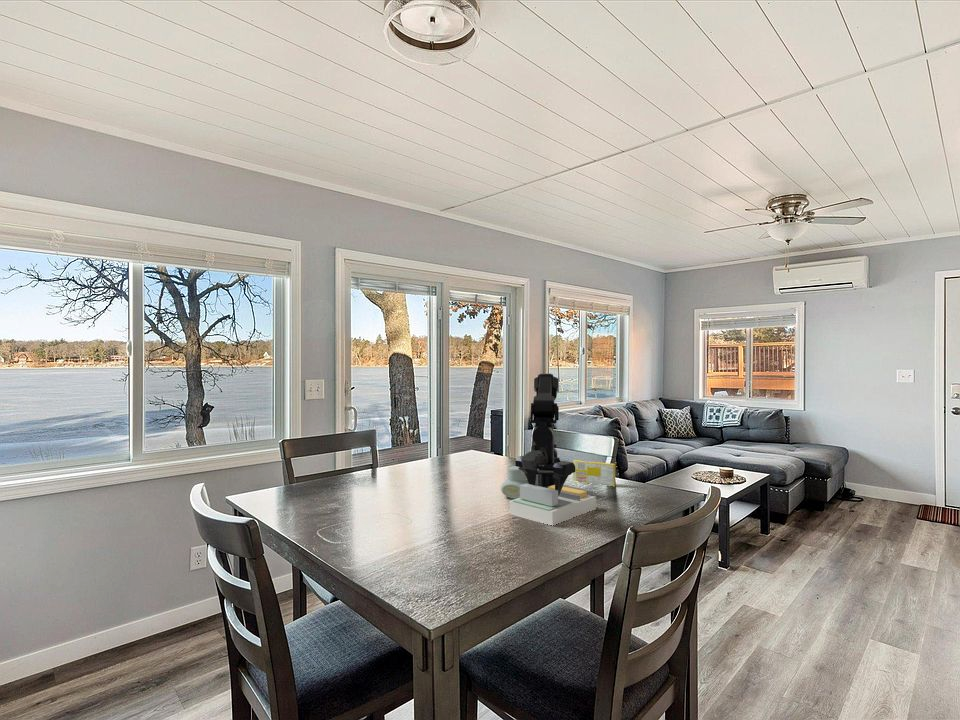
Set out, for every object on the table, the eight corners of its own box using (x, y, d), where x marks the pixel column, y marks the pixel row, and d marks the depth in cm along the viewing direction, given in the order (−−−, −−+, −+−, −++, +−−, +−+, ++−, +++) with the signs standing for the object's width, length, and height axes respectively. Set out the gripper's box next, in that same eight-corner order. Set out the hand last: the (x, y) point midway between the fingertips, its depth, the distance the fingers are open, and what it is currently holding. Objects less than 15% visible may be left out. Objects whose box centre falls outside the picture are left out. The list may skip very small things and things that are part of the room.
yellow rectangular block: (547, 491, 163) (547, 486, 163) (555, 489, 166) (555, 484, 166) (579, 498, 155) (579, 493, 155) (586, 496, 157) (586, 491, 157)
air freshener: (536, 496, 174) (536, 466, 173) (527, 502, 166) (527, 471, 166) (507, 492, 178) (507, 463, 178) (497, 498, 171) (497, 468, 171)
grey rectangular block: (519, 498, 154) (519, 485, 154) (526, 496, 156) (526, 483, 156) (551, 506, 145) (551, 492, 145) (558, 504, 147) (558, 490, 147)
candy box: (616, 486, 186) (615, 463, 186) (614, 487, 184) (614, 464, 184) (574, 481, 195) (573, 459, 195) (572, 482, 193) (571, 460, 193)
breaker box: (509, 514, 153) (509, 495, 153) (554, 499, 169) (554, 482, 169) (552, 526, 142) (552, 506, 142) (595, 509, 157) (595, 491, 157)
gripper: (502, 441, 153) (503, 493, 153) (553, 448, 140) (553, 505, 140) (526, 436, 161) (527, 486, 161) (576, 443, 148) (576, 497, 148)
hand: (544, 493), depth 152 cm, fingers open, 9 cm apart
